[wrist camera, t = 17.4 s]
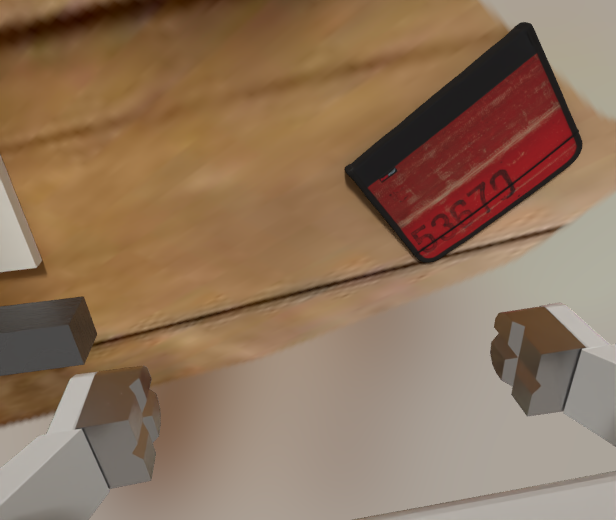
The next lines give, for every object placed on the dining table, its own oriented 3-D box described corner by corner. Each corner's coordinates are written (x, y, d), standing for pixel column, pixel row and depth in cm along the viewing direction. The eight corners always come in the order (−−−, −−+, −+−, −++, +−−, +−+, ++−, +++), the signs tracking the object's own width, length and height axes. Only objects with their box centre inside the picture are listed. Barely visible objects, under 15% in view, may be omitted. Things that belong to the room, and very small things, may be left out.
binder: (347, 174, 45) (533, 20, 41) (341, 166, 47) (518, 19, 43) (428, 273, 53) (592, 153, 49) (420, 262, 55) (577, 146, 51)
